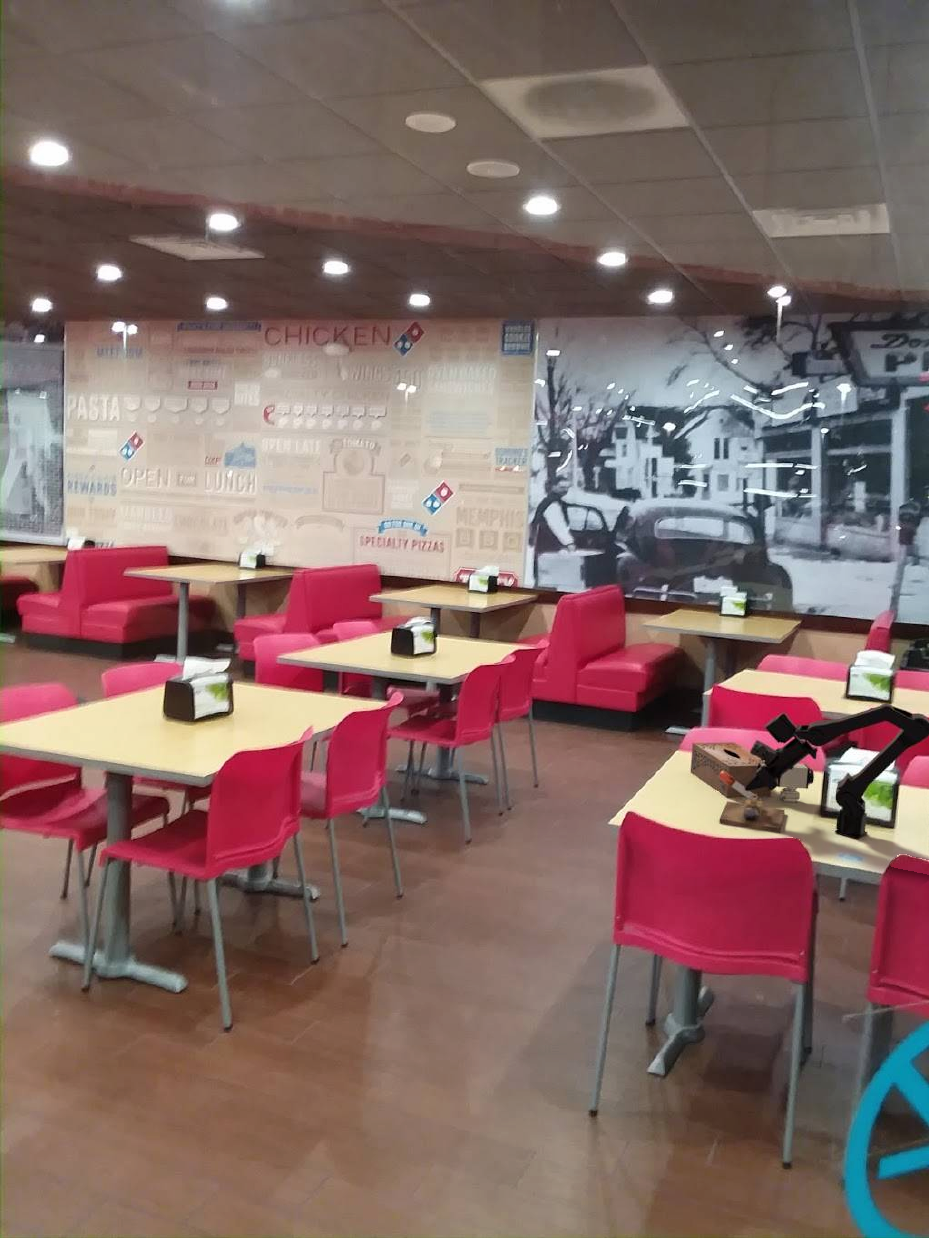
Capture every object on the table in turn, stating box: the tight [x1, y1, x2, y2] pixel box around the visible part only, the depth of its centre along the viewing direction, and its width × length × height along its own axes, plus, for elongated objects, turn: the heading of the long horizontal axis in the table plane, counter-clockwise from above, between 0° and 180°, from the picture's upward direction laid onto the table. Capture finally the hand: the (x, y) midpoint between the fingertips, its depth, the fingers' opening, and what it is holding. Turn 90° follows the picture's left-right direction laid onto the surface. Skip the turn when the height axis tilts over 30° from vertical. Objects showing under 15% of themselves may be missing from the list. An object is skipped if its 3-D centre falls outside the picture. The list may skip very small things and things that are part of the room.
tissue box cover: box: [690, 741, 772, 799], centre depth 318 cm, size 26×14×10 cm, turn 12°
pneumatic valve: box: [776, 762, 815, 803], centre depth 304 cm, size 6×12×12 cm, turn 87°
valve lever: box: [718, 770, 758, 801], centre depth 288 cm, size 3×3×12 cm
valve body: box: [743, 794, 763, 821], centre depth 287 cm, size 4×12×6 cm, turn 159°
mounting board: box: [718, 801, 785, 833], centre depth 287 cm, size 16×17×1 cm
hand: (745, 789), depth 287 cm, fingers closed, pressing on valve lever
